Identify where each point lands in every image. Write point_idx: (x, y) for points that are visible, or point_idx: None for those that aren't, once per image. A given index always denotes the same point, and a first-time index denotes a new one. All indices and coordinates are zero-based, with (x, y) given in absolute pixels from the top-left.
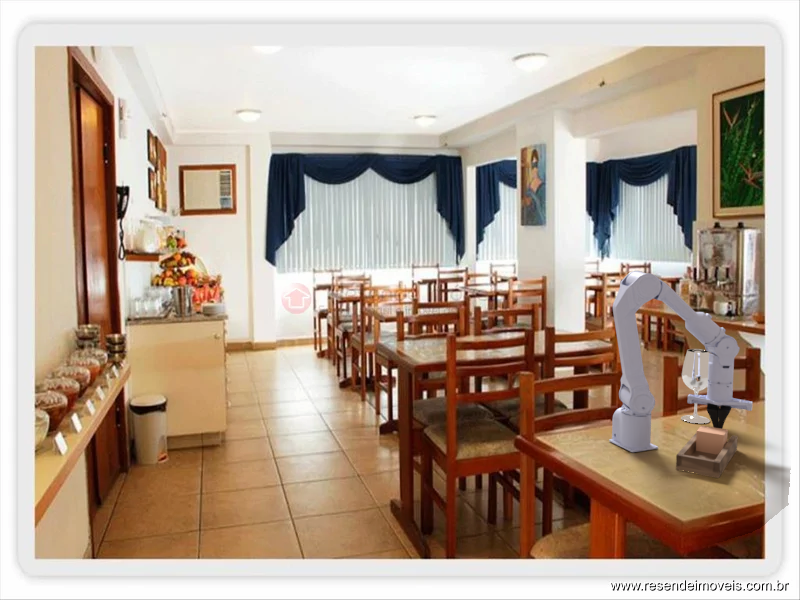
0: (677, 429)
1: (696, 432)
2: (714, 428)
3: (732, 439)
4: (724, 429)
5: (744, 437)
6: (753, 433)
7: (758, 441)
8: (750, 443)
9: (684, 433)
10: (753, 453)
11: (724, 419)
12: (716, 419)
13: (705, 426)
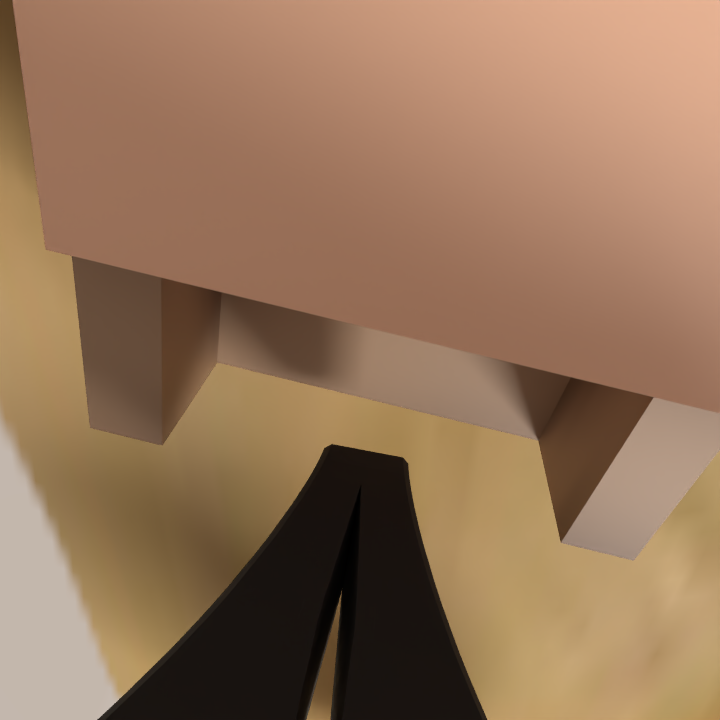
0: (687, 696)
1: (717, 447)
2: (440, 245)
3: None
4: (132, 232)
5: (178, 616)
6: (141, 677)
7: (73, 563)
8: (111, 516)
9: (652, 633)
10: (8, 261)
11: (139, 700)
12: (354, 713)
13: (712, 375)
